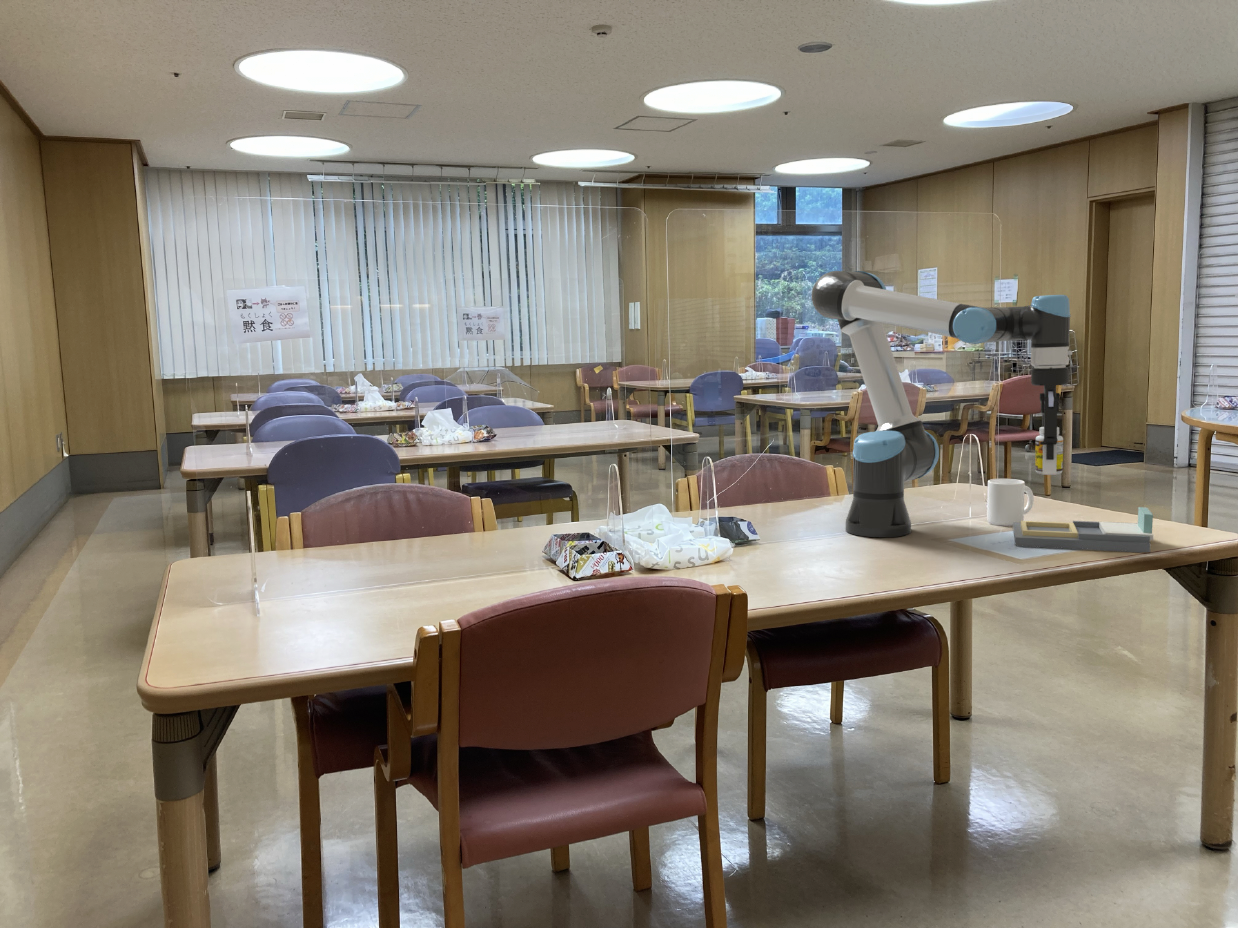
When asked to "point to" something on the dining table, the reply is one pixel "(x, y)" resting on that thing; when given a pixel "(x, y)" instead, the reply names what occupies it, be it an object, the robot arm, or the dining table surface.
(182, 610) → the dining table surface
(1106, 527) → the cover
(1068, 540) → the housing
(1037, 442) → the supplement bottle
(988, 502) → the mug
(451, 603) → the dining table surface
